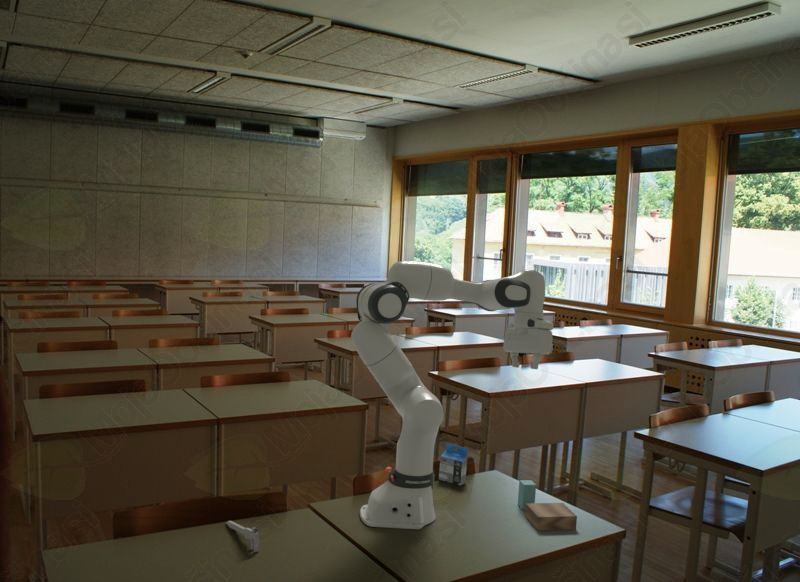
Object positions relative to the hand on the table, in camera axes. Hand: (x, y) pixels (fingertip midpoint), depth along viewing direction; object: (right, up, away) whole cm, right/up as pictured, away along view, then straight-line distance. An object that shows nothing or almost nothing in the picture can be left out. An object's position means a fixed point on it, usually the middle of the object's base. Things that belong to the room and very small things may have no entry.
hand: (524, 368), depth 206 cm
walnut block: (+7, -46, -4) cm, 47 cm away
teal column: (+2, -45, +8) cm, 45 cm away
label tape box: (-20, -42, +27) cm, 54 cm away
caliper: (-81, -43, -24) cm, 95 cm away
